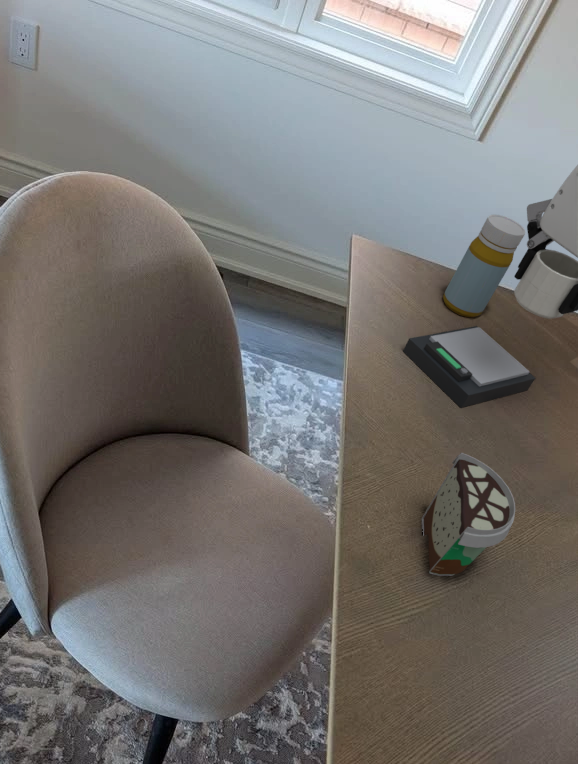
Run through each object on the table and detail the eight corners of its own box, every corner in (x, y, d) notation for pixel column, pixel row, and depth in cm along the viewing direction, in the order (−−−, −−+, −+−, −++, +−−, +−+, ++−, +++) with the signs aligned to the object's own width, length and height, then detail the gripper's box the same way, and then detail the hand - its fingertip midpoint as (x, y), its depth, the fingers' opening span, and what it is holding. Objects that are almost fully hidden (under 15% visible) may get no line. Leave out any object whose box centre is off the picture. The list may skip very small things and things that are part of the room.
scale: (469, 338, 119) (480, 318, 117) (527, 390, 113) (540, 371, 110) (402, 351, 112) (412, 330, 109) (460, 408, 105) (473, 388, 103)
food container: (477, 607, 80) (527, 549, 73) (423, 590, 80) (467, 531, 73) (470, 524, 89) (514, 465, 82) (421, 509, 89) (460, 449, 82)
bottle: (455, 290, 129) (499, 210, 119) (488, 313, 127) (536, 232, 116) (433, 299, 125) (477, 216, 115) (466, 323, 123) (514, 240, 112)
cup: (533, 287, 101) (558, 247, 97) (572, 317, 97) (599, 276, 93) (502, 293, 97) (526, 251, 93) (540, 324, 94) (567, 282, 90)
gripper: (712, 196, 81) (613, 330, 94) (589, 122, 90) (513, 254, 102) (677, 199, 77) (578, 339, 90) (552, 122, 86) (478, 259, 99)
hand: (544, 293), depth 96 cm, fingers closed on cup, 6 cm apart
